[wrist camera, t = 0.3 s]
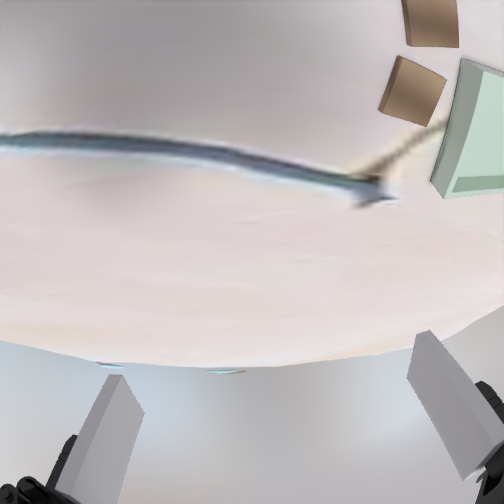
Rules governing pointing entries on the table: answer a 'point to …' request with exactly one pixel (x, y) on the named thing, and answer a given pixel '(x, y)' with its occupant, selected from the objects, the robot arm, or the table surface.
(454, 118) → the tray
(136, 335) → the table surface
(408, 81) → the walnut tile
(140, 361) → the table surface
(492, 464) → the robot arm
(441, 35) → the walnut tile
